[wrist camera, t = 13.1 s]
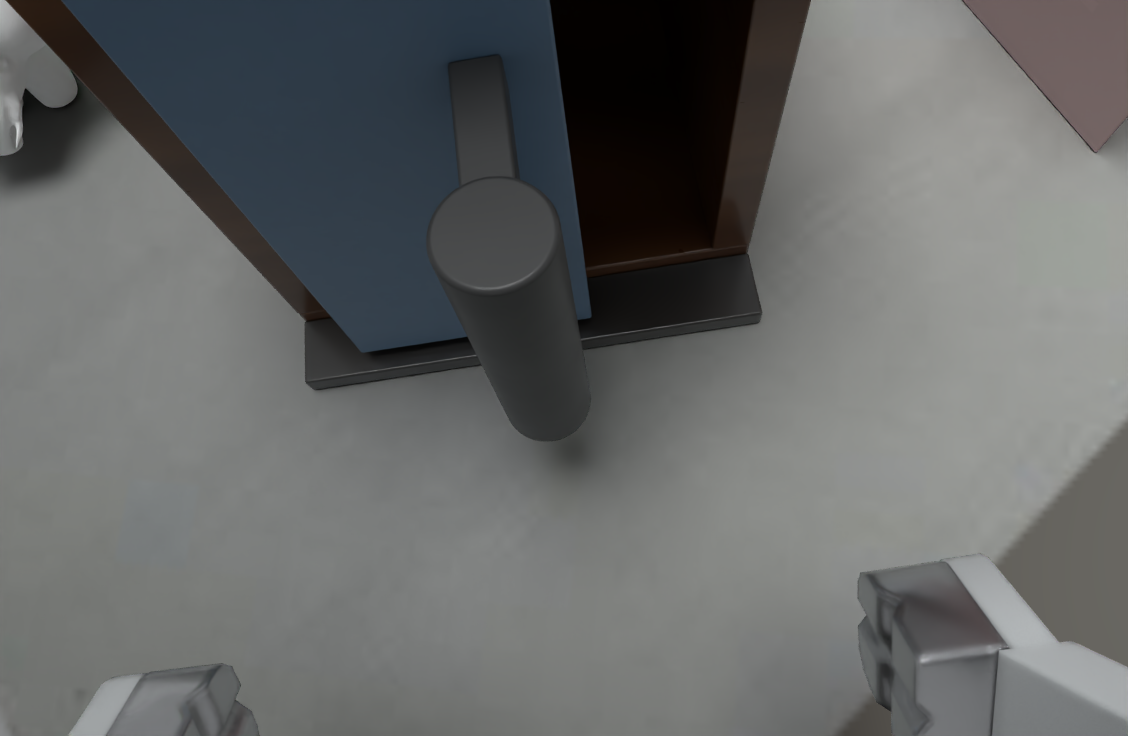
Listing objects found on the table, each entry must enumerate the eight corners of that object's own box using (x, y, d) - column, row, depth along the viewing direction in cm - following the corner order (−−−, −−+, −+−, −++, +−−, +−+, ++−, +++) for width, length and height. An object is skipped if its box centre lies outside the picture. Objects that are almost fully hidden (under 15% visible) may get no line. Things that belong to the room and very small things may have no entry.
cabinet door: (614, 466, 19) (575, 142, 8) (367, 503, 20) (-38, 241, 8) (586, 283, 21) (520, -206, 9) (359, 318, 21) (20, -119, 10)
